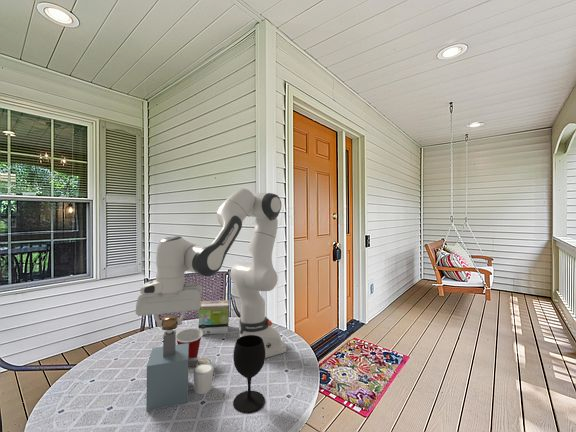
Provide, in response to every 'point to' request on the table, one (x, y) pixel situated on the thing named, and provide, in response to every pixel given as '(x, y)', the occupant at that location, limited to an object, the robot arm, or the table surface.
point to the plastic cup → (190, 340)
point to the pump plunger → (169, 323)
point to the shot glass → (203, 378)
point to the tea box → (214, 317)
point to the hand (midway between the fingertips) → (169, 325)
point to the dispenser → (168, 374)
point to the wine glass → (249, 371)
